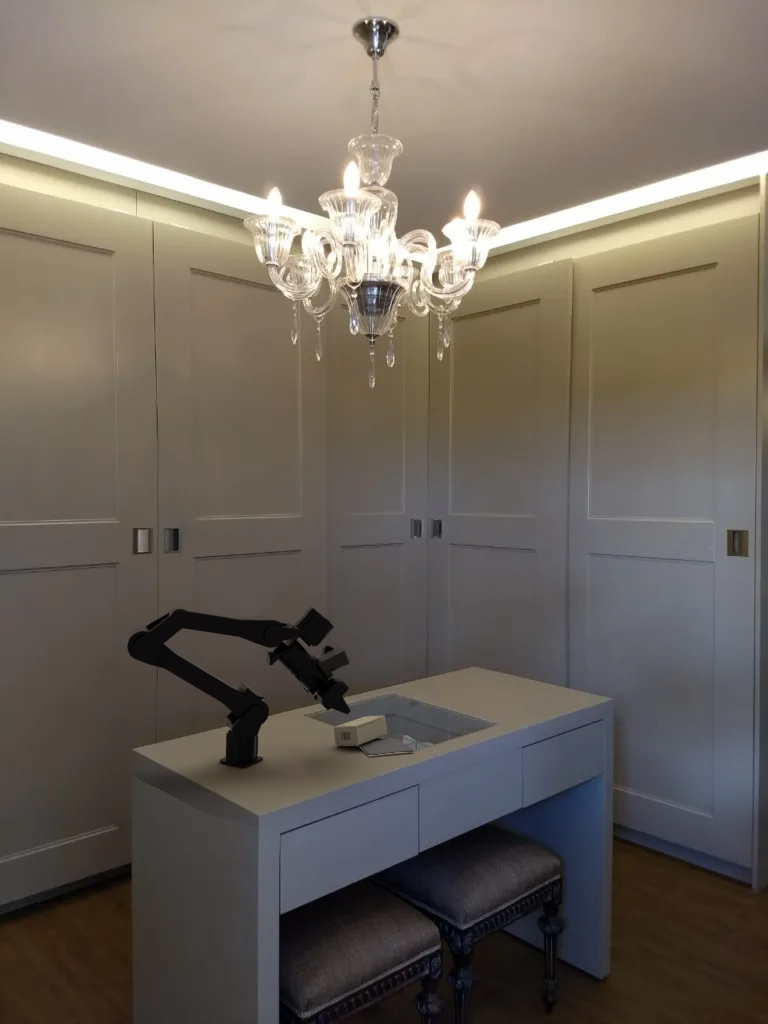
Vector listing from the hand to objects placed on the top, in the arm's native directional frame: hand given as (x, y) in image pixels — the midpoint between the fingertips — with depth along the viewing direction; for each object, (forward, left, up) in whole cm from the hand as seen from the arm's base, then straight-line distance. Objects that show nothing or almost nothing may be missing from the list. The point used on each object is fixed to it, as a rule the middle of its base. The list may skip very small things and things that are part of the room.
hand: (348, 712), depth 166 cm
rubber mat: (+6, -5, -9) cm, 12 cm away
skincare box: (+1, +2, -6) cm, 6 cm away
